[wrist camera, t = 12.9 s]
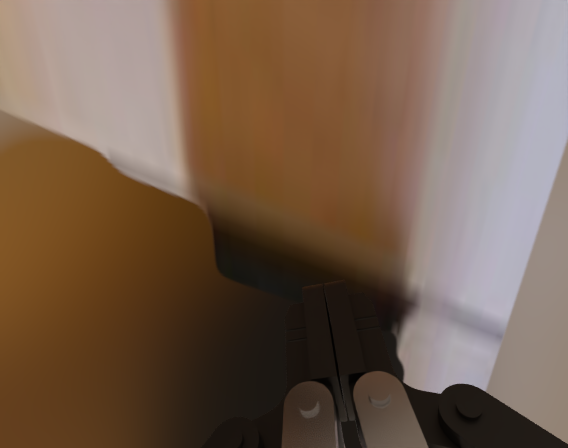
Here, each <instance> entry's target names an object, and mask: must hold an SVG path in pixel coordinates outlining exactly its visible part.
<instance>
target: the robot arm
mask: <svg viewBox="0 0 568 448" xmlns="http://www.w3.org/2000/svg"><path fill="white" fill-rule="evenodd" d="M324 285H325V291H326V297H327V302H326V297H325V292H324V288H323V284H319V285H313V286H307V287H303V288H302V290H303V301H304V302H303V303H298V304H292V305H290V307H289V309H288V311H287V313H286V316H285V331H286V333H285V336H286V337H285V338H286V370H287V388H286V392H285V395H284V397H283V399H282V400H281V402H280V403H279V404H278V405H277V406H276V407H275V408H274V409H273V410H271V411H269V412H268V413H266V414H264V415H262V416H260V417H258V418H256V419H254V420H252V421H251V420H250V419H248V418H245V417H233V418H230V419H228V420H226V421H224V422H223V423H222V424H220V425H219V426H218V427H217V428H216V429H215V431H214V432H213V433H212V435H211V436H210V437H209V438H208V440H207V441H206V442H205V444H204V445H203V446H202V447H201V448H345V445H344V441H343V435H342V429H341V422H343V421H347V416H346V410H345V404H344V398H345V402H346V407H347V411H348V416H349V420H350V421H351V420H356V425H357V430H358V435H359V439H360V443H361V445H362V447H363V448H568V444H567V443H565V442H563V441H562V440H560V439H559V438H557V437H555V436H554V435H552V434H551V433H549V432H548V431H546V430H544V429H543V428H541V427H540V426H538V425H537V424H535V423H534V422H532V421H530V420H529V419H527V418H526V417H524V416H522V415H521V414H519V413H518V412H516V411H515V410H513V409H511V408H510V407H508V406H507V405H505V404H504V403H502V402H500V401H499V400H497V399H496V398H494V397H493V396H491V395H489V394H488V393H486V392H485V391H483V390H481V389H480V388H478V387H475V386H472V385H468V384H455V385H452V386H449V387H448V388H446V389H445V390H444V391H443V392H442V393H441V394H438V393H432V392H426V391H421V390H417V389H414V388H412V387H410V386H408V385H406V384H405V383H403V382H402V381H401V380H400V379H399V378H398V377H397V375H396V374H395V372H394V370H393V368H392V365H391V361H390V358H389V355H388V352H387V349H386V345H385V342H384V339H383V336H382V332H381V329H380V326H379V322H378V319H377V316H376V313H375V309H374V306H373V303H372V302H371V301H370V299H369V298H368V297H367V296H366V295H365V294H364V293H363V292H362V293H357V294H351V295H348V292H347V288H346V283H345V280H342V281H336V282H330V283H325V284H324ZM327 303H328V306H327ZM328 309H329V311H328ZM329 315H330V316H329ZM340 379H341V380H340ZM341 384H342V386H341ZM342 388H343V392H342ZM343 393H344V398H343Z"/></svg>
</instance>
